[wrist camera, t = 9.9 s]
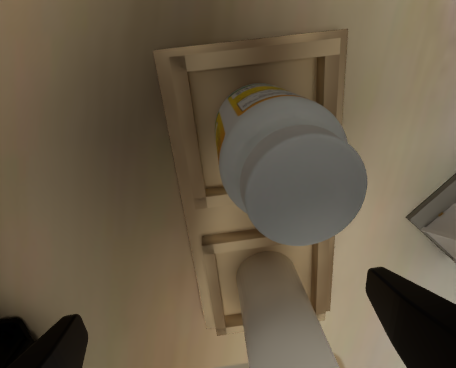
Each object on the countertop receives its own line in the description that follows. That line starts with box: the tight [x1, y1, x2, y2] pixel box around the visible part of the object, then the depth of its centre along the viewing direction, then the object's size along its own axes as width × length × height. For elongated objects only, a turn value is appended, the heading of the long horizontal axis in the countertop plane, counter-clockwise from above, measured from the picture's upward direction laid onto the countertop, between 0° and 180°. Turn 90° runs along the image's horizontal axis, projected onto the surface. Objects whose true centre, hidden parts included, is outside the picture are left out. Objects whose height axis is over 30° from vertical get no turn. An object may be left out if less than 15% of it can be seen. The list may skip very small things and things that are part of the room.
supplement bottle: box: [215, 83, 367, 246], centre depth 13 cm, size 5×5×10 cm
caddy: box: [153, 29, 348, 336], centre depth 20 cm, size 11×22×2 cm, turn 6°
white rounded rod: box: [236, 251, 339, 368], centre depth 18 cm, size 5×5×10 cm
